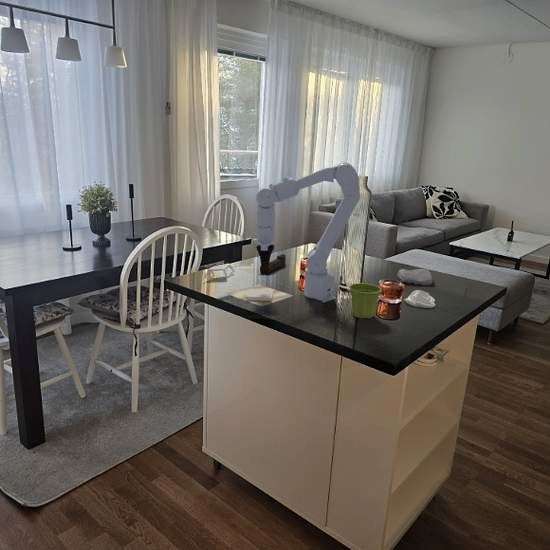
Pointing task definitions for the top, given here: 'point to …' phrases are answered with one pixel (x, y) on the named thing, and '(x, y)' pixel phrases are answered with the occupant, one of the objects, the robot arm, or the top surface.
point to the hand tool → (274, 264)
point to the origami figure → (219, 269)
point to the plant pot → (364, 299)
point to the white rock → (420, 299)
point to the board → (276, 297)
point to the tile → (259, 295)
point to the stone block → (416, 276)
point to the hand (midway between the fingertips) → (264, 267)
